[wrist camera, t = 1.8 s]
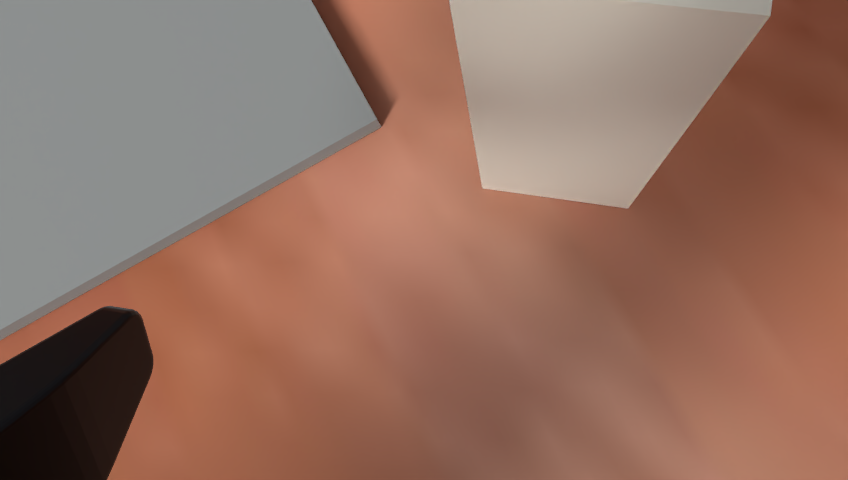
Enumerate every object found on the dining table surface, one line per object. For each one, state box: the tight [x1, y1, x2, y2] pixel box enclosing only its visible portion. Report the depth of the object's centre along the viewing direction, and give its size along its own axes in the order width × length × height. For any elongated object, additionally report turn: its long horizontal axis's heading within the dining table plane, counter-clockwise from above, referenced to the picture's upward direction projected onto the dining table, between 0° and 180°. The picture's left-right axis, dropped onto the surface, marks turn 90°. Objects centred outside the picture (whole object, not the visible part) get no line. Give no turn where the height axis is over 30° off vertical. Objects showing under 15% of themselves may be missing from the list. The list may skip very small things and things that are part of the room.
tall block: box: [449, 0, 772, 209], centre depth 17 cm, size 4×4×13 cm
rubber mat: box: [0, 0, 381, 340], centre depth 26 cm, size 16×16×1 cm
